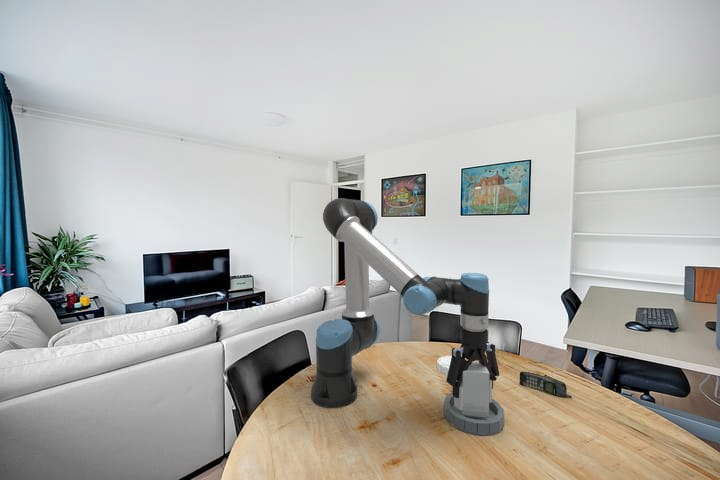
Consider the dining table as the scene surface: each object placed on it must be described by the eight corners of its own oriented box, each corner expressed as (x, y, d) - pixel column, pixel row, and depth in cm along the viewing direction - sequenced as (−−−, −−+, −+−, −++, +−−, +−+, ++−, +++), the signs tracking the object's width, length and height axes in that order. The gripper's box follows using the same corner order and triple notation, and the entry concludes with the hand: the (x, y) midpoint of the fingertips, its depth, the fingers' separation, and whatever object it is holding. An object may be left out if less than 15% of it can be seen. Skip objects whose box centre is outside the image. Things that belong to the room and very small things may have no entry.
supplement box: (489, 418, 84) (490, 373, 84) (461, 415, 86) (461, 371, 85) (484, 403, 92) (484, 362, 91) (458, 401, 93) (458, 360, 93)
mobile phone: (518, 372, 107) (570, 385, 97) (521, 369, 109) (572, 381, 99) (519, 386, 107) (571, 400, 97) (521, 383, 109) (572, 396, 100)
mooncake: (434, 362, 125) (434, 354, 125) (463, 363, 125) (464, 354, 125) (440, 377, 113) (440, 367, 113) (473, 377, 113) (473, 368, 113)
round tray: (433, 407, 93) (433, 397, 93) (475, 397, 99) (475, 387, 99) (470, 441, 79) (470, 429, 78) (516, 427, 84) (517, 415, 84)
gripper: (450, 336, 80) (449, 420, 81) (514, 327, 88) (512, 402, 89) (433, 328, 87) (432, 405, 88) (494, 319, 95) (493, 390, 96)
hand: (473, 403), depth 89 cm, fingers closed on supplement box, 10 cm apart
